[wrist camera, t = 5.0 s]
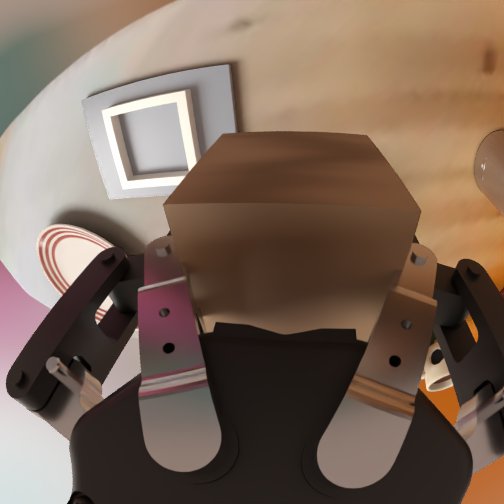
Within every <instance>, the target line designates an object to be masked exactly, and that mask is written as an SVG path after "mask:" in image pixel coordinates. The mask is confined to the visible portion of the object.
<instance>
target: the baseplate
mask: <svg viewBox="0 0 504 504" xmlns="http://www.w3.org/2000/svg"><path fill="white" fill-rule="evenodd" d="M81 102H82V106H83V111H84V115H85V119H86V123H87V127H88V131H89V135H90V139H91V142H92V146H93V150H94V153H95V156H96V160H97V163H98V166H99V170H100V173H101V176H102V179H103V182H104V185H105V188H106V191H107V194H108V197H109V200H110V199H121V198H134V197H149V196H166V195H171V194H172V192H173V191H174V190H175V189H176V187H177V186H178V185H179V184H180V182H181V181H182V180H183V179H184V178H185V176H186V175H187V174H188V173H189V171H190V170H191V169H192V168H193V167H194V166H195V164H196V163H197V162H198V161H199V160H200V158H201V157H202V156H203V155H204V154H205V153H206V152H207V150H208V149H209V148H210V147H211V146H212V145H213V144H214V143H215V141H216V140H217V139H218V138H219V137H220V136H221V135H222V134H224V133H238V129H237V119H236V110H235V100H234V91H233V81H232V72H231V64H227V65H219V66H211V67H204V68H198V69H192V70H186V71H181V72H176V73H171V74H167V75H162V76H158V77H154V78H150V79H146V80H142V81H138V82H134V83H131V84H127V85H124V86H121V87H118V88H114V89H111V90H108V91H105V92H102V93H100V94H97V95H94V96H91V97H89V98H86V99H83V100H81Z"/></svg>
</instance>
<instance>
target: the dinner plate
mask: <svg viewBox="0 0 504 504" xmlns="http://www.w3.org/2000/svg"><path fill="white" fill-rule="evenodd" d="M110 247H115V246H114V245H113V244H111V243H110V242H108V241H107V240H105V239H104V238H102V237H100V236H99V235H97V234H95V233H93V232H91V231H89V230H86V229H83V228H81V227H78V226H74V225H69V224H53V225H49V226H47V227H46V228H44V229H43V230H42V231H41V232H40V234H39V236H38V239H37V244H36V249H37V256H38V260H39V263H40V265H41V268H42V270H43V272H44V274H45V275H46V277H47V279H48V280H49V282H50V283H51V284H52V286H53V287H54V288H55V289H56V290H57V292H58V293H59V294H60V295H61V296H62V295H63V294H64V293H65V292H66V290H67V289H68V288H69V287H70V286H71V284H72V283H73V282H74V281H75V280H76V278H77V277H78V276H79V275H80V274H81V273H82V271H83V270H84V269H85V268H86V267H87V266H88V265H89V263H90V262H91V261H92V260H93V259H94V258H95V257H96V256H97V255H98V254H99V253H100V252H102V251H103V250H105V249H107V248H110ZM112 304H113V302H112V300H111V298H110V297H109V295H108V297H107V298H106V299H105V301H104V302H103V303H102V305H101V306H100V307H99V309H98V310H97V312H96V315H95V320H96V321H97V322H100V321H101V319H102V318H103V316H104V315H105V314H106V312H107V311H108V309H109V308H110V307H111V305H112ZM135 331H139V330H138V326H137V328H136V329H135Z"/></svg>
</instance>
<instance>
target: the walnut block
mask: <svg viewBox="0 0 504 504" xmlns="http://www.w3.org/2000/svg"><path fill="white" fill-rule="evenodd" d="M163 207H164V210H165V214H166V217H167V221H168V224H169V228H170V231H171V234H172V238H173V241H174V244H175V248H176V251H177V254H178V257H179V260H180V262H186V266H187V269H188V272H189V276H190V281H191V286H192V291H193V294H194V298H195V301H196V304H197V307H198V308H200V309H201V312H202V315H203V318H204V322H205V326H206V330H207V333H208V332H213V329H214V326H215V322H224V323H235V324H248V325H252V326H255V327H259V328H262V329H266V330H269V331H272V332H276V333H280V334H293V333H299V332H304V331H310V330H315V329H320V328H336V329H356V337H357V339H358V340H362V341H365V342H367V341H368V338H369V336H370V333H371V331H372V329H373V326H374V324H375V321H376V319H377V316H378V315H379V313H380V310H381V308H382V305H383V303H384V300H385V297H386V294H387V291H388V288H389V285H390V282H391V279H392V277H393V274H394V271H395V270H403V269H404V266H405V263H406V260H407V257H408V254H409V251H410V248H411V245H412V242H413V238H414V235H415V232H416V228H417V225H418V221H419V218H420V214H421V210H420V208H419V206H418V205H417V203H416V202H415V200H414V199H413V197H412V195H411V194H410V192H409V191H408V189H407V188H406V186H405V185H404V184H403V182H402V181H401V179H400V178H399V176H398V175H397V174H396V172H395V171H394V169H393V168H392V167H391V165H390V164H389V163H388V161H387V160H386V159H385V157H384V156H383V155H382V153H381V152H380V151H379V149H378V148H377V147H376V146H375V144H374V143H373V142H372V141H371V139H370V138H369V137H368V136H367V135H358V134H345V133H328V132H293V131H276V132H242V133H224V134H222V135H221V136H220V137H219V138H218V139H217V140H216V141H215V143H214V144H213V145H212V146H211V147H210V148H209V149H208V150H207V152H206V153H205V154H204V155H203V156H202V157H201V158H200V160H199V161H198V162H197V163H196V164H195V166H194V167H193V168H192V169H191V170H190V171H189V173H188V174H187V175H186V176H185V178H184V179H183V180H182V181H181V182H180V184H179V185H178V186H177V187H176V189H175V190H174V191H173V192H172V194H171V195H170V196H169V197H168V199H167V200H166V201H165V203H164V204H163Z"/></svg>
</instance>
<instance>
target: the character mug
mask: <svg viewBox="0 0 504 504" xmlns="http://www.w3.org/2000/svg"><path fill="white" fill-rule="evenodd" d="M424 378H425V382H426V388H427V390H428V391H439V390H443V389H446V388H449V387H451V386H453V382H452V379H451V376H450V374H449V371H448V368H447V365H446V362H445V359H444V357H443V354H442V351H441V349H440V346H439V344H438V341H437V339H436V336H435V334H434V331H432V336H431V341H430V345H429V350H428V354H427V358H426V362H425V366H424V373H422V377H421V379H424Z"/></svg>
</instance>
